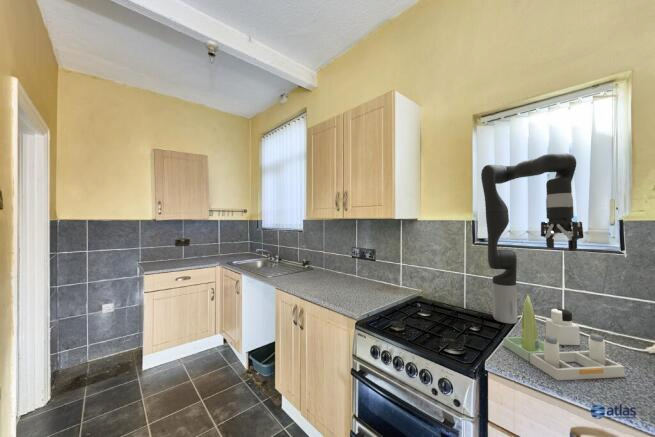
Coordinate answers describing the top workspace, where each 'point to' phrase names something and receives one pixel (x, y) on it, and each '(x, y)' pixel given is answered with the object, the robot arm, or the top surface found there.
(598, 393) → the top surface
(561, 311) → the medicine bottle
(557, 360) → the bottle
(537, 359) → the holder
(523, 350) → the tray
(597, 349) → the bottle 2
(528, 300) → the tube
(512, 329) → the top surface
